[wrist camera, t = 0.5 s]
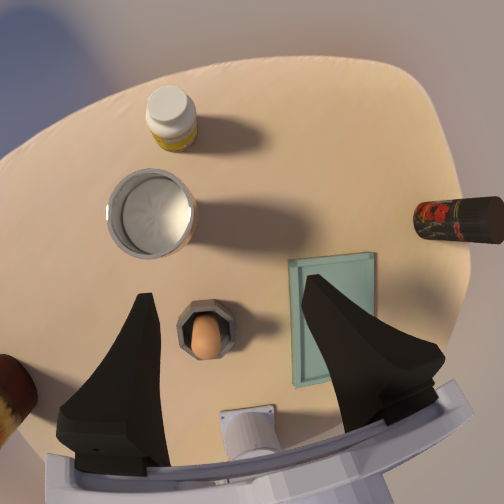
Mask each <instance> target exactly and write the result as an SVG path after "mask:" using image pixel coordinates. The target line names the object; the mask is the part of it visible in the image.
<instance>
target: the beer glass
mask: <svg viewBox="0 0 504 504" xmlns="http://www.w3.org/2000/svg"><path fill="white" fill-rule="evenodd" d="M106 219H107V226H108V230H109V232H110V235H111V237H112V239H113V240H114V242H115V243H116V244H117V245H118V247H119V248H120V249H122V250H123V251H124V252H126V253H127V254H129V255H131V256H133V257H136V258H139V259H146V260H151V259H158V258H163V257H167V256H170V255H172V254H174V253H176V252H178V251H180V250H181V249H182V248H183V247H185V246H186V245H187V243H188V242H189V241H190V240H191V238H192V236H193V235H194V232H195V230H196V227H197V222H198V208H197V204H196V201H195V198H194V196H193V195H192V193H191V191H190V190H189V189H188V187H187V186H186V185H185V184H184V183H183V182H182V181H181V180H180V179H179V178H178V177H176V176H175V175H173V174H172V173H170V172H167V171H165V170H161V169H155V168H148V169H142V170H138V171H135V172H133V173H131V174H129V175H128V176H126V177H125V178H124V179H123V180H121V181H120V182H119V184H118V185H117V186H116V187H115V189H114V190H113V192H112V194H111V196H110V198H109V201H108V205H107V212H106Z"/></svg>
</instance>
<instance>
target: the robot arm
mask: <svg viewBox="0 0 504 504" xmlns="http://www.w3.org/2000/svg"><path fill="white" fill-rule="evenodd" d="M301 308H302V311H303V314H304V317H305V320H306V323H307V325H308V328H309V330H310V332H311V334H312V336H313V338H314V340H315V342H316V344H317V346H318V348H319V350H320V352H321V354H322V357H323V359H324V361H325V363H326V366H327V368H328V371H329V374H330V377H331V380H332V383H333V386H334V390H335V393H336V396H337V400H338V404H339V408H340V412H341V416H342V420H343V425H344V430H345V434H342V435H339V436H336V437H333V438H330V439H327V440H323V441H320V442H317V443H313V444H310V445H306V446H302V447H299V448H295V449H291V450H287V451H286V450H282V448H281V445H280V443H279V440H278V438H277V435H276V433H275V421H274V407H273V405H267V406H260V407H253V408H246V409H239V410H230V411H221V412H219V419H220V425H221V430H222V436H223V441H224V447H225V452H226V455H228V458H229V461H227V462H221V463H212V464H202V465H191V466H174V467H171V464H170V460H169V455H168V450H167V445H166V439H165V433H164V426H163V419H162V410H161V401H160V356H161V332H160V322H159V318H158V314H157V311H156V307H155V303H154V299H153V295H152V293H141V294H138V295H137V297H136V300H135V302H134V304H133V307H132V309H131V311H130V313H129V315H128V317H127V319H126V321H125V323H124V325H123V327H122V329H121V331H120V333H119V335H118V336H117V338H116V340H115V342H114V344H113V345H112V347H111V348H110V350H109V352H108V353H107V355H106V356H105V358H104V359H103V361H102V362H101V363H100V365H99V366H98V367H97V369H96V370H95V371H94V373H93V374H92V375H91V376H90V378H89V379H88V380H87V381H86V382H85V383H84V384H83V386H82V387H81V388H80V389H79V390H78V391H77V392H76V393H75V394H74V395H73V396H72V397H71V398H70V399H69V400H68V401H67V402H66V403H65V404H64V405H62V406H61V407H60V411H59V415H58V420H57V430H56V437H57V439H58V440H59V441H60V442H61V443H62V444H64V445H65V446H66V447H68V448H69V449H71V450H72V451H74V452H75V459H74V458H71V457H67V456H61V455H55V454H50V453H47V454H46V468H45V503H46V504H394V502H393V499H392V497H391V494H390V492H389V490H388V488H387V485H386V483H385V480H384V478H383V476H382V474H383V473H385V472H387V471H389V470H391V469H393V468H395V467H397V466H399V465H401V464H402V463H404V462H406V461H408V460H410V459H412V458H413V457H415V456H417V455H419V454H420V453H422V452H424V451H425V450H427V449H429V448H430V447H432V446H433V445H435V444H437V443H438V442H440V441H441V440H443V439H444V438H446V437H448V436H449V435H450V434H452V433H453V432H454V431H456V430H457V429H458V428H460V427H461V426H462V425H463V424H465V423H466V422H467V421H469V420H470V419H471V418H472V417H474V416H475V413H474V411H473V410H472V408H471V406H470V404H469V403H468V401H467V399H466V398H465V396H464V394H463V393H462V391H461V389H460V388H459V386H458V385H457V383H456V381H455V380H451V381H449V382H447V383H446V384H444V385H442V386H440V387H439V388H438V389H436V390H434V388H433V386H434V384H435V382H434V381H433V379H432V377H433V376H434V375H435V374H436V373H437V372H438V370H439V369H440V368H441V367H442V365H443V364H444V362H445V356H444V354H443V353H442V352H441V350H440V349H439V347H438V346H437V344H434V343H431V342H428V341H425V340H422V339H419V338H416V337H413V336H411V335H408V334H406V333H404V332H402V331H399V330H397V329H395V328H393V327H391V326H389V325H388V324H386V323H384V322H382V321H381V320H379V319H377V318H376V317H374V316H372V315H371V314H369V313H368V312H366V311H365V310H364V309H362V308H361V307H359V306H358V305H357V304H355V303H354V302H353V301H351V300H350V299H349V298H348V297H346V296H345V295H344V294H343V293H341V292H340V291H339V290H338V289H337V288H335V287H334V286H333V285H332V284H331V283H329V282H328V281H327V280H326V279H325V278H323V277H322V276H321V275H320V274H314V275H307V278H306V284H305V289H304V294H303V299H302V303H301ZM270 410H272V411H270ZM222 417H224V418H222ZM339 452H340V453H339ZM336 453H337V454H336ZM333 454H334V455H333ZM330 455H331V456H330ZM327 456H328V457H327ZM324 457H325V458H324ZM321 458H322V459H321ZM314 460H315V461H314ZM311 461H312V462H311ZM307 462H308V463H307ZM304 463H305V464H304ZM215 480H219V484H220V485H216V484H215V482H213V481H215Z"/></svg>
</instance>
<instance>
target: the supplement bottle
mask: <svg viewBox="0 0 504 504" xmlns="http://www.w3.org/2000/svg"><path fill="white" fill-rule="evenodd" d="M146 123H147V125H148V128H149V129H150V131H151V133H152V135H153V136H154V138H155V140H156V142H157V143H158V145H159V146H160V147H161V148H163V149H164V150H166V151H169V152H180V151H183V150H185V149H187V148H189V147H190V146H191V145H192V144H193V142H194V141H195V139H196V137H197V119H196V108H195V104H194V102H193V101H192V99H191V98H190V97H189V96H188V95H186V93H185V92H184V91H183V90H182V89H181V88H179V87H177V86H173V85H167V86H162V87H160V88H158V89H156V90H155V91H154V92H153V93H152V94H151V95H150V97H149V99H148V102H147V110H146Z"/></svg>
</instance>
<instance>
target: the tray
mask: <svg viewBox="0 0 504 504" xmlns="http://www.w3.org/2000/svg"><path fill="white" fill-rule="evenodd" d="M314 274H320V275H321V276H322V277H323V278H325V279H326V280H327V281H328V282H329V283H331V284H332V285H333V286H334V287H335V288H337V289H338V290H339V291H340V292H341V293H343V294H344V295H345V296H346V297H348V298H349V299H350V300H351V301H353V302H354V303H355V304H357V305H358V306H359V307H361V308H362V309H364V310H365V311H366V312H368V313H369V314H371V315H372V316H373V314H374V253H373V252H361V253H351V254H341V255H331V256H321V257H310V258H300V259H289V260H288V275H289V295H290V318H291V347H292V384H293V385H294V387H295V389H296V388H301V387H306V386H310V385H315V384H320V383H324V382H328V381H332V380H331V377H330V374H329V371H328V368H327V366H326V363H325V361H324V359H323V357H322V354H321V352H320V350H319V348H318V346H317V344H316V342H315V340H314V338H313V336H312V334H311V332H310V330H309V328H308V325H307V323H306V320H305V317H304V314H303V311H302V308H301V303H302V299H303V294H304V289H305V284H306V278H307V275H314Z"/></svg>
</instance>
